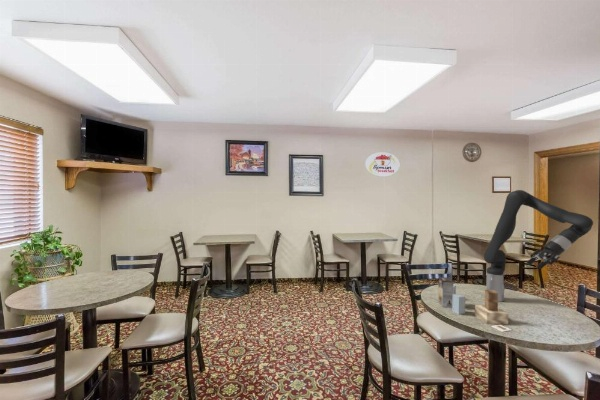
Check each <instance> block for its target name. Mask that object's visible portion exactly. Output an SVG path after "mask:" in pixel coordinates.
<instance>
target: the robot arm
mask: <svg viewBox="0 0 600 400" xmlns="http://www.w3.org/2000/svg"><path fill="white" fill-rule="evenodd" d="M521 206H526V207H530V208H532V209H534V210H537V212H539V213H540V214H542V215H544V216H545V217H547V218H549V219H551V220H554V221H556V222H559V223H562V224H565V223H568V224H571V225H570V226H569V227H568V228H566V229H565V228H564V229H563V230H562V231H561V232H559V233H558V234H557V235H556V236H554V237H553V238H552V239H550V240H549V241H548V242H547V243H545V244H544V245H543V250H541V249H536V251H535V250H534V251H533V253H531V254H530V255H529V257H530V258H529V259H528V260H527V261H526V264H527V265H528V266H531V265H533V264H534V263H535V262H536V261H538V260H540V261H541V260H542V261H541V262H540V263H538V264H537V265H536V268H538V269H539V270H542V269H543V268H545V266H548V265H550V266H552V265H553V264H554V263H555V262H557V260H559V258H560V255H562V254H564V252H565V251H567V250H568V249H569V248H570V247H571V246H572V245H573V244H574V243H575V242H576V241H577V240H578V239H580V238H582V237H583V236H585V235H586V234H588V233H589V232H590V231H591V230H592V228H593V224H594V221H593V220H592V218H591V217H589V216H587V215H584V214H581V213H578V212H572V211H569V210H566V209H563V208H561V207H558V206H555V205H554V204H552V203H549V202H547V201H544V200H542V199H540V198H538V197H536V196H534V195H532V194H530V193H529V192H528V191H525V190H523V189H517V190H514V191H511V192H509V193H508V194H507V195H506V198H505V201H504V206H503V211H502V212H501V215H500V217H499V220H498V222H497V224H496V226H495V228H494V232H493V235H492V237H491V239H490V242H489V243H488V245H487V247H486V249H485V251H484V253H483V259H484V261H485V262H486V263H487V264H491V265H490V266H489V267H487V268H486V283H485V284H486V286H485V287H486V289H485V290H495V291H496V292H497V293H498V303H499V302H503V301H504V300H505V285H504V273H505V271H506V261H507V257H506V253H505V252H504V251H503V250H502V249H500V248H501V247H502V246H503V244H505V243H507V241H508V240H509V239H510V238H511V237H512V236H513V233H514V231H515V228H516V224H517V214H518V213H519V210H520V209H521Z"/></svg>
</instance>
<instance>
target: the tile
mask: <svg viewBox="0 0 600 400" xmlns="http://www.w3.org/2000/svg"><path fill="white" fill-rule="evenodd" d="M491 328H494V329H496V330H498V331H500V332H502V333H503V332H510V331H511V332H512V331H513V330H512V329H511V328H509V327H507V326H504V325H503V324H493V325H492V326H491Z"/></svg>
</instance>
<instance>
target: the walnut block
mask: <svg viewBox="0 0 600 400" xmlns="http://www.w3.org/2000/svg"><path fill="white" fill-rule="evenodd" d="M484 305H485V308H486V309H487V310H489V311H498V308H499V302H498V293H497V292H496V291H495V290H486V289H484Z"/></svg>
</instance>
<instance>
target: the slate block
mask: <svg viewBox="0 0 600 400" xmlns="http://www.w3.org/2000/svg"><path fill="white" fill-rule="evenodd" d="M451 311H452V312H453V313H454V314H457V315H459V316H460V315H465V313H466V296H465V295H462V294H459V293H456V294H454V295H453V304H452V310H451Z"/></svg>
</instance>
